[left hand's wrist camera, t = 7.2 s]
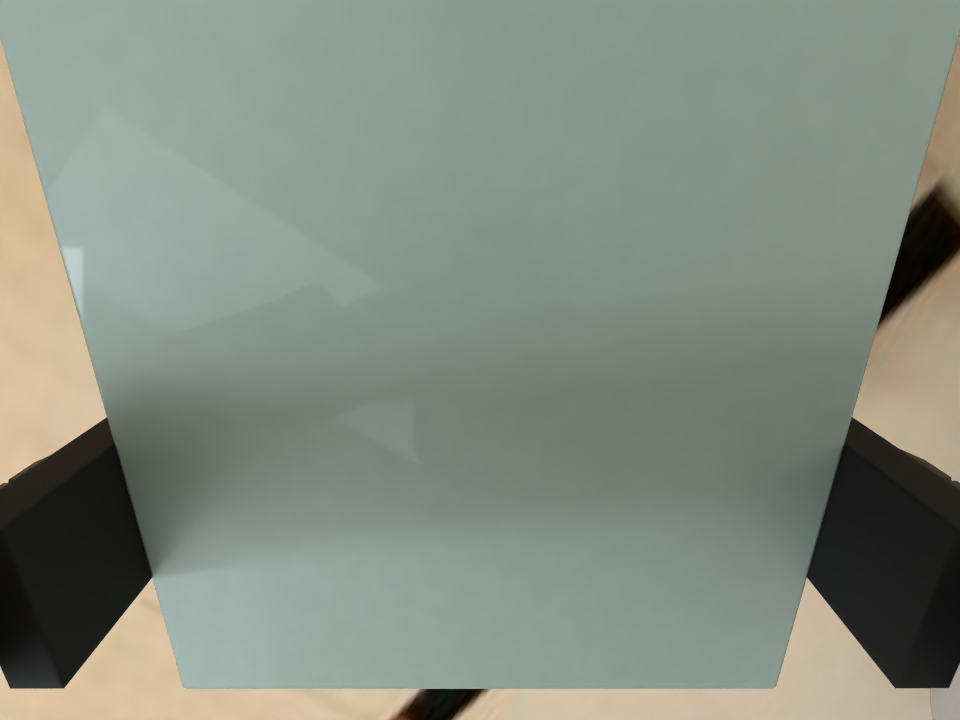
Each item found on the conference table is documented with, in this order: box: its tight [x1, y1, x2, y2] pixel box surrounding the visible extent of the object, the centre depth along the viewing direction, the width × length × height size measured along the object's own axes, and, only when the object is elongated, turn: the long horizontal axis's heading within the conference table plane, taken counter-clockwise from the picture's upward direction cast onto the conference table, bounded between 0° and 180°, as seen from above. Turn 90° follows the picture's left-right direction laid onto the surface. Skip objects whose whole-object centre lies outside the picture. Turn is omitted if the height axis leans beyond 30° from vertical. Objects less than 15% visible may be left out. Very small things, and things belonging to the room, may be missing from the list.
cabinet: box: [0, 0, 960, 689], centre depth 12 cm, size 20×12×10 cm, turn 0°
